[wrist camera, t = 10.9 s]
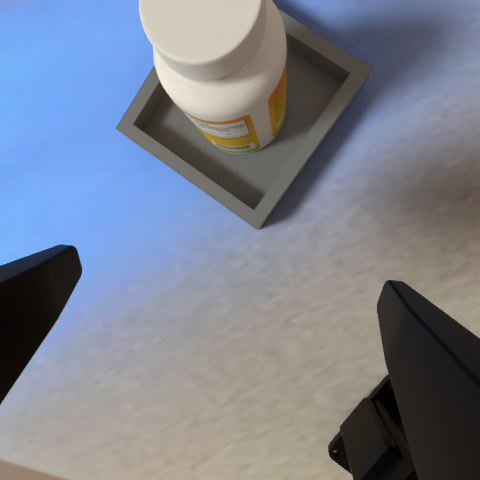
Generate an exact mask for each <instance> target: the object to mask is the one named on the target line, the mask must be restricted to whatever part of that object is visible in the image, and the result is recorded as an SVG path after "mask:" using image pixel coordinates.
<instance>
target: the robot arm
mask: <svg viewBox="0 0 480 480" xmlns="http://www.w3.org/2000/svg"><path fill="white" fill-rule="evenodd" d="M81 274H82V266H81V263H80V259H79V255H78V252H77V249H76V248H75V247H74V246H71V245H57V246H54V247H52V248H49V249H46V250H43V251H40V252H38V253H35V254H32V255H29V256H26V257H24V258H21V259H18V260H15V261H12V262H10V263H7V264H4V265H1V266H0V404H1V403H2V401H3V400H4V398H5V397H6V395H7V394H8V392H9V391H10V389H11V388H12V386H13V385H14V383H15V382H16V380H17V379H18V378H19V376H20V375H21V373H22V372H23V370H24V369H25V367H26V366H27V364H28V363H29V361H30V360H31V358H32V357H33V355H34V354H35V352H36V351H37V349H38V348H39V346H40V345H41V343H42V342H43V340H44V339H45V337H46V336H47V335H48V333H49V332H50V330H51V329H52V327H53V326H54V324H55V322H56V321H57V319H58V318H59V316H60V314H61V312H62V311H63V309H64V307H65V305H66V303H67V301H68V299H69V298H70V296H71V294H72V292H73V290H74V288H75V286H76V284H77V283H78V281H79V279H80V277H81ZM377 313H378V319H379V326H380V332H381V338H382V345H383V351H384V357H385V361H386V365H387V369H388V373H389V375H388V376H386V377H385V378H384V379H383V380H382V381H381V382H380V384H379V385H378V386H377V387H376V388H375V390H374V391H373V392H372V393H371V394H370V396H369V397H366V398H363V400H362V401H361V402H360V403H359V404H358V406H357V407H356V408H355V409H354V410H353V412H352V413H351V414H350V415H349V416H348V418H347V419H346V420H345V421H344V422H343V424H342V425H341V426H340V432H339V433H338V434H337V435H336V436H335V438H334V439H333V440H332V441H331V442H330V444H329V446H328V452H329V455H330V457H331V458H332V459H333V460H334V461H335V462H336V463H338V464H339V465H340V466H342V467H343V468H344V469H345V470H347V471H348V472H349V473H351V474H352V476H353V480H480V338H478V337H477V336H476V335H474V334H473V333H472V332H470V331H469V330H467V329H466V328H465V327H463V326H462V325H461V324H459V323H458V322H457V321H455V320H454V319H453V318H451V317H450V316H449V315H447V314H446V313H445V312H443V311H442V310H441V309H439V308H438V307H437V306H435V305H434V304H433V303H431V302H430V301H429V300H427V299H426V298H425V297H423V296H422V295H421V294H419V293H418V292H416V291H415V290H414V289H412V288H411V287H410V286H408V285H407V284H406V283H404V282H402V281H395V280H388V281H386V282H385V284H384V286H383V289H382V292H381V295H380V297H379V300H378V303H377ZM390 383H392V387H389V384H390ZM335 449H338V450H340V451H339V452H338V453H335V452H333V451H334V450H335Z"/></svg>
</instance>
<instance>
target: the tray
mask: <svg viewBox="0 0 480 480" xmlns="http://www.w3.org/2000/svg"><path fill="white" fill-rule="evenodd" d="M277 9H278V8H277ZM278 11H279V13H280V15H281V18H282V20H283V24H284V28H285V33H286V44H287V69H286V113H285V118H284V121H283V124H282V126H281V128H280V130H279V132H278V133H277V135H276V136H275V138H274V139H273V140H272V141H271V142H270V143H269V144H267V145H266V146H265V147H263V148H261V149H259V150H257V151H255V152H252V153H247V154H233V153H229V152H226V151H223V150H221V149H219V148H218V147H216V146H215V145H213V144H212V143H211V142H210V141H209V140H208V139H207V138H206V137H205V136H204V135H203V133H202V132H201V131H200V130H199V129H198V128H197V127H196V126H195V125H194V123H193V122H192V121H191V120H190V119H189V118H188V117H187V116H186V115H185V113H184V112H183V111H182V110H181V109H180V108H179V107H178V106H177V105H176V104H175V103H174V101H173V100H172V99H171V98H170V96H169V95H168V94H167V92H166V91H165V89H164V88H163V86H162V84H161V82H160V80H159V77H158V75H157V72H156V68H155V65H154V67H153V68H152V70H151V71H150V73H149V75H148V76H147V78H146V80H145V81H144V83H143V85H142V86H141V88H140V89H139V91H138V93H137V94H136V96H135V98H134V99H133V101H132V103H131V104H130V106H129V107H128V109H127V111H126V112H125V114H124V116H123V117H122V119H121V120H120V122H119V124H118V125H117V127H116V129H117V130H118V131H120V132H121V133H123V134H124V135H125V136H127V137H128V138H130V139H131V140H132V141H134V142H135V143H137V144H138V145H139V146H141V147H142V148H144V149H145V150H146V151H148V152H149V153H151V154H152V155H153V156H155V157H156V158H158V159H159V160H160V161H162V162H163V163H165V164H166V165H167V166H169V167H170V168H172V169H173V170H174V171H176V172H177V173H179V174H180V175H181V176H183V177H184V178H186V179H187V180H188V181H190V182H191V183H193V184H194V185H195V186H197V187H198V188H200V189H201V190H202V191H204V192H205V193H207V194H208V195H209V196H211V197H212V198H214V199H215V200H216V201H218V202H219V203H220V204H222V205H223V206H225V207H226V208H227V209H229V210H230V211H232V212H233V213H234V214H236V215H237V216H239V217H240V218H241V219H243V220H244V221H246V222H247V223H248V224H250V225H251V226H253V227H254V228H255V229H257V230H259V229H261V227H262V226H263V225H264V223H265V222H266V220H267V219H268V218H269V216H270V215H271V213H272V212H273V211H274V209H275V208H276V206H277V205H278V204H279V202H280V201H281V199H282V198H283V197H284V195H285V194H286V192H287V191H288V190H289V188H290V187H291V185H292V184H293V183H294V181H295V180H296V178H297V177H298V176H299V174H300V173H301V171H302V170H303V169H304V167H305V166H306V164H307V163H308V162H309V160H310V159H311V157H312V156H313V155H314V153H315V152H316V150H317V149H318V147H319V146H320V145H321V143H322V142H323V140H324V139H325V138H326V136H327V135H328V133H329V132H330V131H331V129H332V128H333V126H334V125H335V124H336V122H337V121H338V119H339V118H340V117H341V115H342V114H343V112H344V111H345V110H346V108H347V107H348V105H349V104H350V103H351V101H352V100H353V98H354V97H355V96H356V94H357V93H358V91H359V90H360V89H361V87H362V86H363V84H364V82H365V81H366V79H367V77H368V75H369V73H370V71H371V70H372V67H370V66H368V65H367V64H365V63H364V62H362V61H360V60H359V59H357V58H356V57H354V56H352V55H351V54H349V53H348V52H346V51H345V50H343V49H341V48H340V47H338V46H337V45H335V44H333V43H332V42H330V41H329V40H327V39H325V38H324V37H322V36H321V35H319V34H317V33H316V32H314V31H313V30H311V29H310V28H308V27H306V26H305V25H303V24H302V23H300V22H298V21H297V20H295V19H294V18H292V17H290V16H289V15H287V14H286V13H284V12H282V11H281V10H279V9H278Z"/></svg>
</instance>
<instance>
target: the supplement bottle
mask: <svg viewBox="0 0 480 480" xmlns="http://www.w3.org/2000/svg"><path fill="white" fill-rule="evenodd" d="M139 11H140V18H141V22H142V25H143V28H144V30H145V33H146V34H147V37H148V38H149V40H150V42H151V43H152V45H153V56H154V63H155V68H156V72H157V75H158V77H159V80H160V82H161V84H162V86H163V88H164V89H165V91H166V92H167V94H168V95H169V96H170V98H171V99H172V100H173V101H174V103H175V104H176V105H177V106H178V107H179V108H180V109H181V110H182V111H183V112H184V113H185V115H186V116H187V117H188V118H189V119H190V120H191V121H192V122H193V123H194V125H195V126H196V127H197V128H198V129H199V130H200V131H201V132H202V133H203V135H204V136H205V137H206V138H207V139H208V140H209V141H210V142H211V143H212V144H213V145H215V146H216V147H218V148H219V149H221V150H223V151H226V152H229V153H233V154H247V153H252V152H255V151H257V150H259V149H261V148H263V147H265V146H266V145H267V144H269V143H270V142H271V141H272V140H273V139H274V138H275V136H276V135H277V133H278V132H279V130H280V128H281V126H282V124H283V121H284V118H285V113H286V69H287V44H286V33H285V28H284V24H283V20H282V18H281V15H280V13H279V11H278V9H277V7H276V5H275V4H274V2H273V1H272V0H139Z"/></svg>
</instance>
